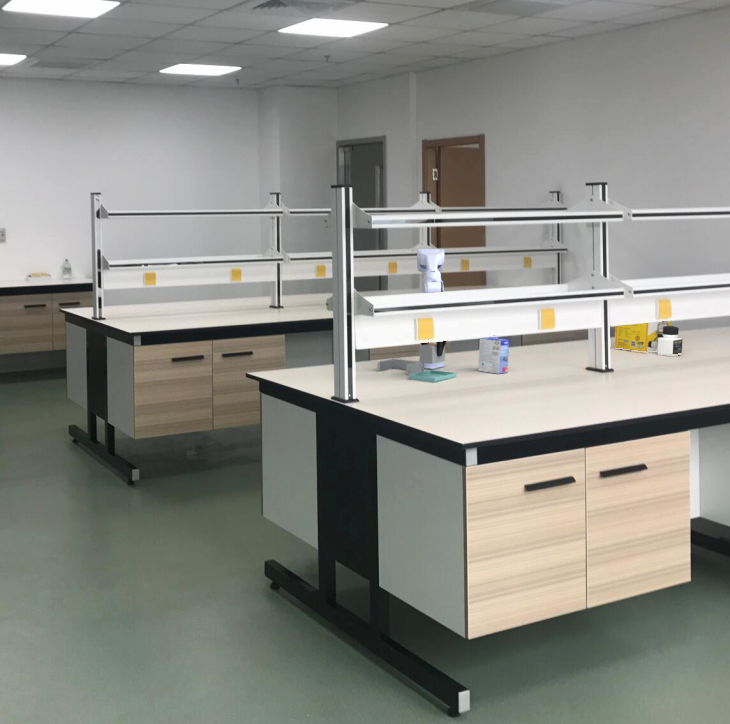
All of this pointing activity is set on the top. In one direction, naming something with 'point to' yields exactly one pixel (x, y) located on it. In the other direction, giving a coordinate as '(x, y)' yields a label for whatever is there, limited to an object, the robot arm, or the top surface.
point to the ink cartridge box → (493, 355)
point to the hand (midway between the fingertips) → (432, 355)
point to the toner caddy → (430, 354)
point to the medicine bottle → (670, 341)
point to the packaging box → (640, 336)
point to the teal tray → (432, 376)
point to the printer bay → (401, 365)
